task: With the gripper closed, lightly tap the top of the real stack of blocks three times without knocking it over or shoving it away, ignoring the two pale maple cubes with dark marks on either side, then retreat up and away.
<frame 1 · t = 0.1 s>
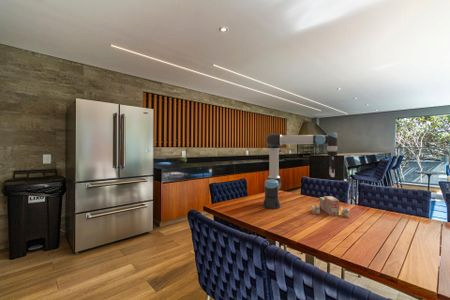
hand: (331, 175, 183), 28 cm above the table, fingers open, 13 cm apart
marked cube left: (315, 212, 173), on the table
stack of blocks: (328, 211, 176), on the table
marked cube right: (345, 215, 165), on the table
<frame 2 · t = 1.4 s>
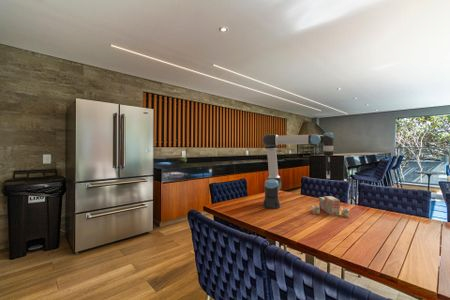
hand: (328, 178, 183), 26 cm above the table, fingers closed
nothing on the table moved.
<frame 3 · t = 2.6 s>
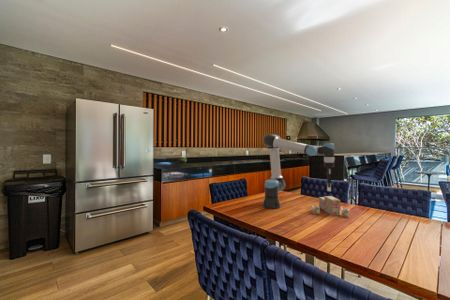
hand: (329, 190, 175), 17 cm above the table, fingers closed
nothing on the table moved.
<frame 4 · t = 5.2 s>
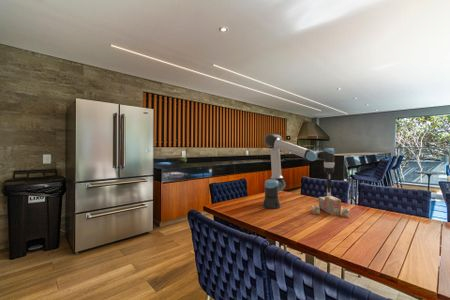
hand: (328, 195, 175), 13 cm above the table, fingers closed
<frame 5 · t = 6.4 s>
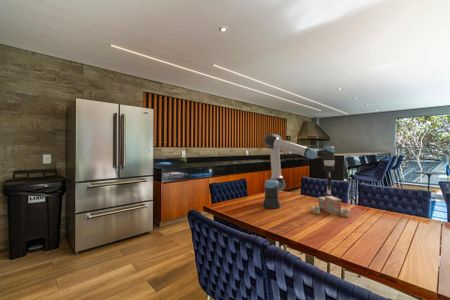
hand: (329, 194, 175), 14 cm above the table, fingers closed
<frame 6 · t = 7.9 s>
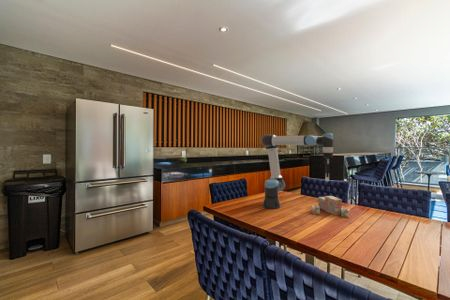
hand: (327, 181, 176), 25 cm above the table, fingers closed
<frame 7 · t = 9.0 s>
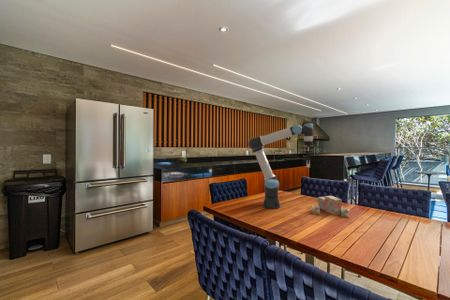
hand: (308, 167, 193), 34 cm above the table, fingers closed
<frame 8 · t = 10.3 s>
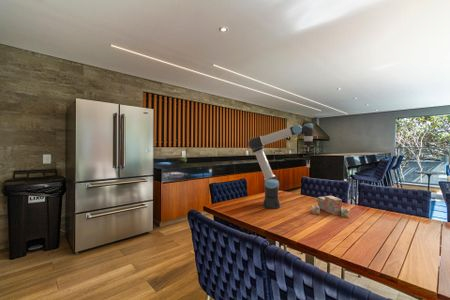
hand: (308, 167, 193), 34 cm above the table, fingers closed
at the end: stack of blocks moved 1.7 cm from its start; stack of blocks tilted 0°; the gripper is holding nothing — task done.
